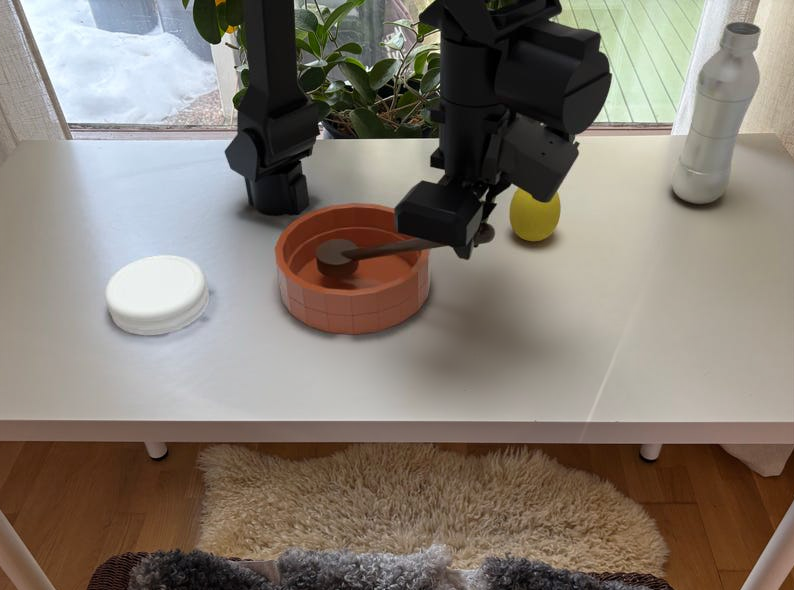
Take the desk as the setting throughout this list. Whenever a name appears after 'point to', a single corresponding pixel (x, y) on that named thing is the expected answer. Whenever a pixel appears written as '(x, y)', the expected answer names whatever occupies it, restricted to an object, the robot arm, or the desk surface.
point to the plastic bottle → (718, 115)
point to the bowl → (359, 292)
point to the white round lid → (157, 295)
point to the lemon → (533, 216)
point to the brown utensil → (376, 251)
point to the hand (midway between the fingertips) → (468, 252)
